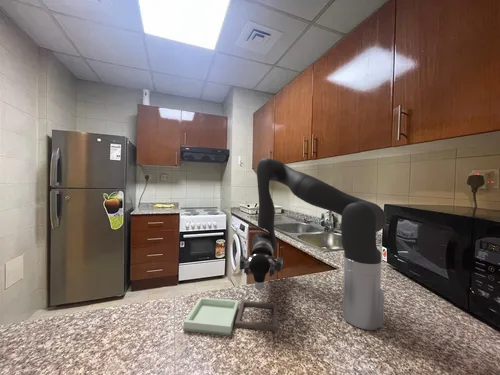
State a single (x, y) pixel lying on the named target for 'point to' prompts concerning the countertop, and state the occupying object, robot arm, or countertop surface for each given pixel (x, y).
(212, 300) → the parts tray
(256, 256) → the light bulb
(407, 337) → the countertop surface
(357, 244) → the robot arm
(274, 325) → the brown square frame
